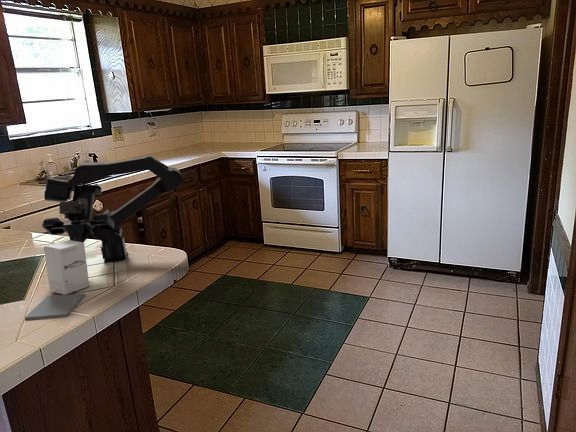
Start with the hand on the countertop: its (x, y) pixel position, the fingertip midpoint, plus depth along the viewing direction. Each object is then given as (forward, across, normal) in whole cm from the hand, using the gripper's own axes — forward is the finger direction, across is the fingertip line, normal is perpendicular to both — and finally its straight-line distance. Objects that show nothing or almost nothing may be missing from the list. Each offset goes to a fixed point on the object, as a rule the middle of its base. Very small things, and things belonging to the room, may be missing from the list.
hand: (74, 250), depth 125 cm
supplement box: (+11, 0, +1) cm, 11 cm away
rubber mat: (+18, +1, -6) cm, 19 cm away
